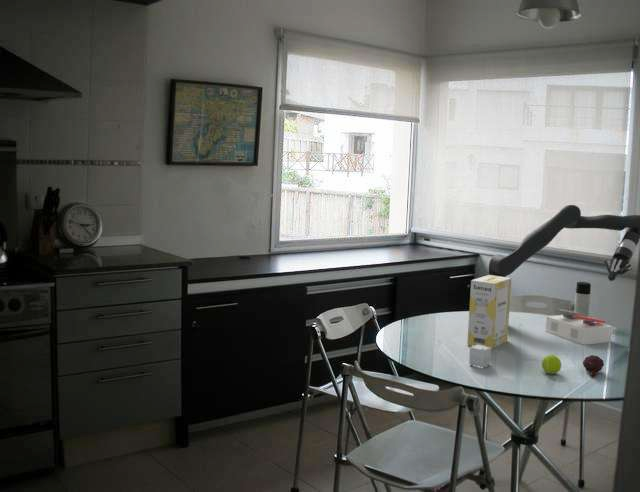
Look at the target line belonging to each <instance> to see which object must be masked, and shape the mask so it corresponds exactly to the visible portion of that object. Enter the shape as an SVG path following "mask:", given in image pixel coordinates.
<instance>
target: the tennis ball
mask: <svg viewBox="0 0 640 492" xmlns="http://www.w3.org/2000/svg"><path fill="white" fill-rule="evenodd" d="M541 368H542V370H543V371H544V372H545V373H546V374H549V375H555V374H557V373H559V372H560V371H561V369H562V361H561V359H560V358H559V357H558V356H556V355H554V354H551V355H550V354H549V355H546V356H544V358H543V359H542V361H541Z"/></svg>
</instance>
